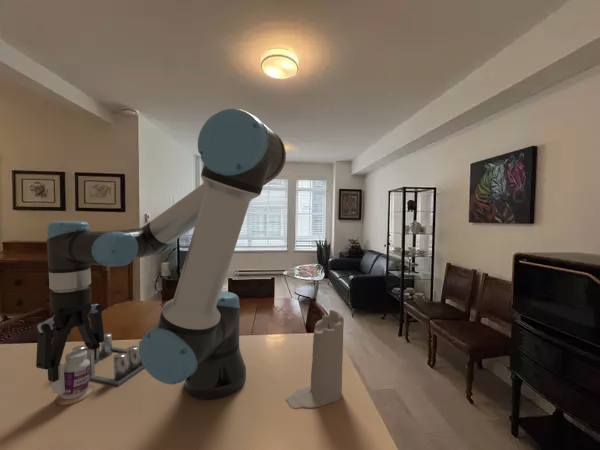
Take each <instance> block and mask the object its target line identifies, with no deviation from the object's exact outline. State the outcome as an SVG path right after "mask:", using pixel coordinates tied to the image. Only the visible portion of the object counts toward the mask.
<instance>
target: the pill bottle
mask: <svg viewBox="0 0 600 450" xmlns="http://www.w3.org/2000/svg"><path fill="white" fill-rule="evenodd" d="M86 357H87V351H86V350H84V349H79V350H74V351H73V350H71V351H69V352H68V353H66V354H65V362H64V363H63V364H62V365H64V382H65V393H63V394H62V395H60V396H61V397H62V398H64V399H73V398H76V397H79V396H81V395H83V394H84V393H86V392H87V390H88V389H89V384H90V379H89V376H90V360H89V359H88V358H86Z"/></svg>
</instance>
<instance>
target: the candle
mask: <svg viewBox="0 0 600 450" xmlns="http://www.w3.org/2000/svg"><path fill="white" fill-rule="evenodd" d="M312 339H313V340H312V341H313V342H312V359H311V372H310V373H311V374H310V385H309V386H306V387H303V388H299V389H298V390H296V391H294V392H293V394H292V395H290V396H288V397H286V398H285V401H287V404H288V405H289V407H291V408H292V409H299V408H304V409H305V408H306V409H313V408H314V409H315V408H319V407H322V406H325V405H328V404H329V405H330V404H333V403H337V402H338V401H340V400H341V398H342V396H343V395H342V394H343V393H342V392H343V360H344V359H343V355H344V317H343V314H341V313H339V312H338V311H336V310H334V309H330V310H329V314H324V315H322V316H321V319H320V320H317V322H316V323H315V326H314V332H313V338H312Z"/></svg>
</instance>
